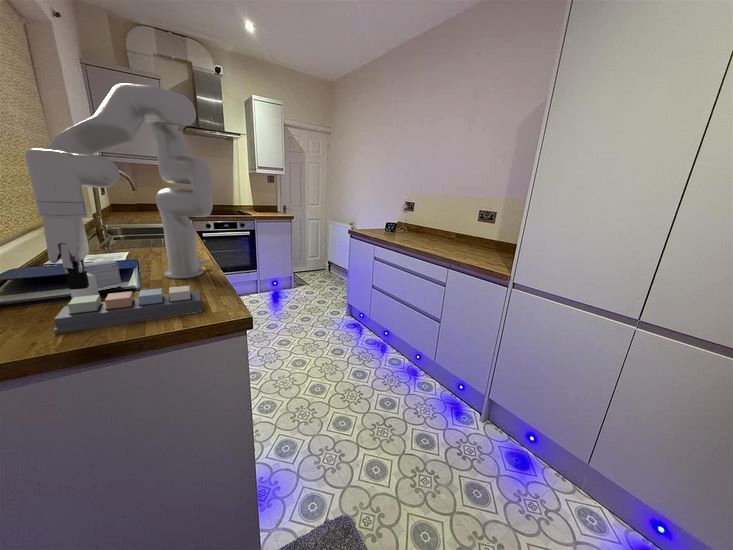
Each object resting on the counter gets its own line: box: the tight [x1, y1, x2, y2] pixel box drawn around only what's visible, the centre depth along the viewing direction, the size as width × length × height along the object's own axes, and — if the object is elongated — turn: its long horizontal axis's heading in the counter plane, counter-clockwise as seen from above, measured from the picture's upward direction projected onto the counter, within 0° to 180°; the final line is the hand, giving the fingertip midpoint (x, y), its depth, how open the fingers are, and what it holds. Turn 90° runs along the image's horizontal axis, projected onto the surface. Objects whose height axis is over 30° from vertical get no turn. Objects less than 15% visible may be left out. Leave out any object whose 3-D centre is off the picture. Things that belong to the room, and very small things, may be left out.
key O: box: [104, 291, 134, 309], centre depth 74 cm, size 5×5×2 cm
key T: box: [137, 287, 164, 305], centre depth 77 cm, size 5×5×2 cm
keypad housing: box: [53, 290, 203, 335], centre depth 76 cm, size 29×11×3 cm, turn 123°
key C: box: [67, 294, 102, 314], centre depth 70 cm, size 5×5×2 cm
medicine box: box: [85, 259, 122, 288], centre depth 90 cm, size 8×4×9 cm, turn 149°
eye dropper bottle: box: [69, 270, 100, 300], centre depth 80 cm, size 4×6×12 cm
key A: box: [168, 285, 191, 301], centre depth 81 cm, size 5×5×2 cm
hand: (79, 287), depth 69 cm, fingers closed
